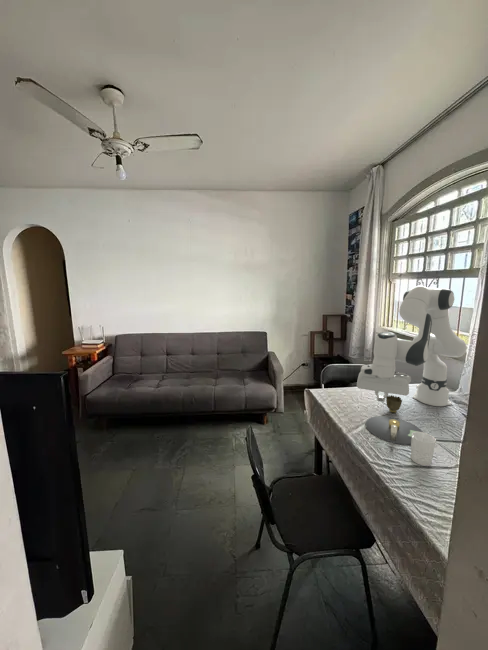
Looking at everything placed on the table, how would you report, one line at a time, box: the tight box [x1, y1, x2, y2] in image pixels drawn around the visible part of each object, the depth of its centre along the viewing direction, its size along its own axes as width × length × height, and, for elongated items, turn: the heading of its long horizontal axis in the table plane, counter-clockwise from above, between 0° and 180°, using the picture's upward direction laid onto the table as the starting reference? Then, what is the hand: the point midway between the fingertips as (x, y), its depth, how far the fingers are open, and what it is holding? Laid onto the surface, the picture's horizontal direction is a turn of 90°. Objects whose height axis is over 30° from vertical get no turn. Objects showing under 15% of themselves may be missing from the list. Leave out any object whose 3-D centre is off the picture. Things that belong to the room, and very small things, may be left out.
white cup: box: [410, 431, 437, 467], centre depth 109 cm, size 8×8×10 cm
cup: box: [385, 394, 403, 414], centre depth 149 cm, size 8×7×8 cm
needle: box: [389, 419, 400, 441], centre depth 127 cm, size 14×4×6 cm, turn 151°
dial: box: [365, 415, 423, 446], centre depth 132 cm, size 24×24×1 cm
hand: (380, 400), depth 122 cm, fingers closed
